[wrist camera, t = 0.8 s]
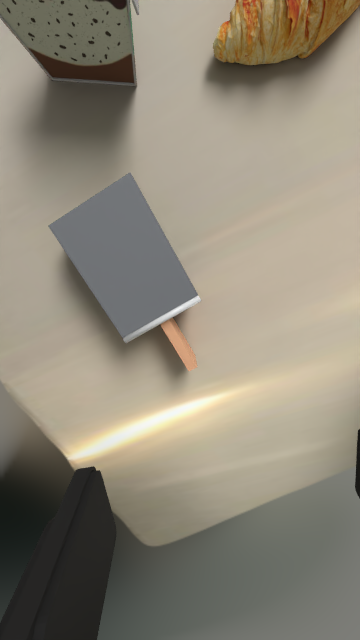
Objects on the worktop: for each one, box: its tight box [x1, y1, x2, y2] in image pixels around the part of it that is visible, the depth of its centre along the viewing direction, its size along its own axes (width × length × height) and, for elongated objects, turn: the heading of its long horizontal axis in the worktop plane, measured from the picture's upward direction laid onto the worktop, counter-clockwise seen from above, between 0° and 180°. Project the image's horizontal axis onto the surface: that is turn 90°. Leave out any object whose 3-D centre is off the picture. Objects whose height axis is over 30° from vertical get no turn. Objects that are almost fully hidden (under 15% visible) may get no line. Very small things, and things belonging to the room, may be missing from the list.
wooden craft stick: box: [160, 317, 197, 371], centre depth 29 cm, size 1×19×4 cm, turn 30°
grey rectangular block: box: [49, 173, 201, 343], centre depth 28 cm, size 10×15×6 cm
